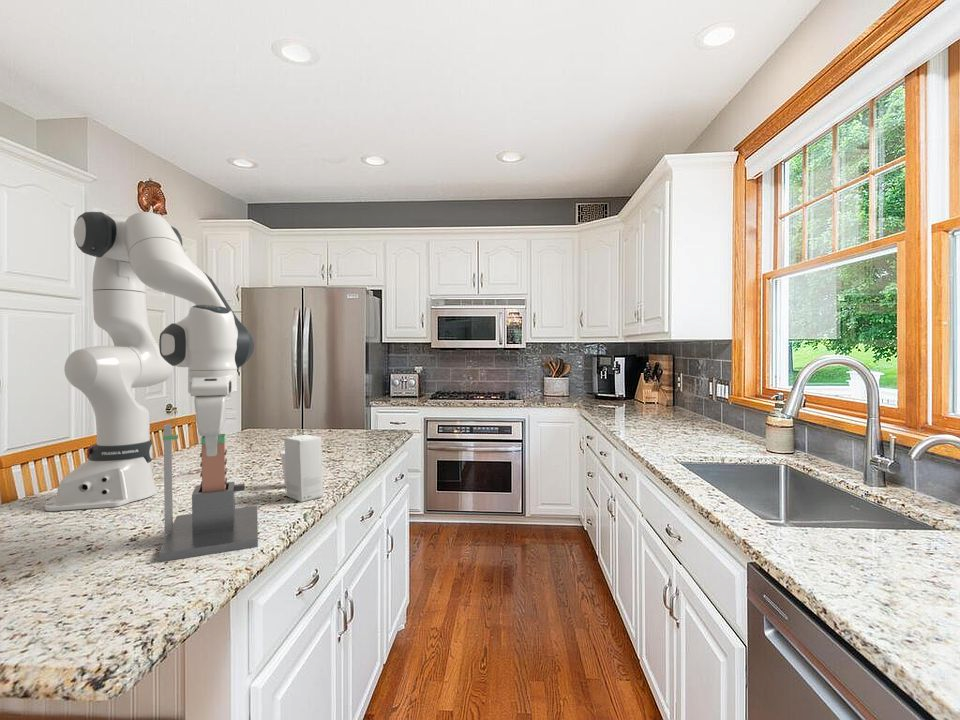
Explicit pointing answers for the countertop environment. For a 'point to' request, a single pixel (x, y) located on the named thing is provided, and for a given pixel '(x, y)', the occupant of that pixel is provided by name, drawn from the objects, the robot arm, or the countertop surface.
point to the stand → (205, 518)
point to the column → (214, 467)
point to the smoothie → (283, 464)
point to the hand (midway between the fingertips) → (213, 451)
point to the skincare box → (303, 467)
